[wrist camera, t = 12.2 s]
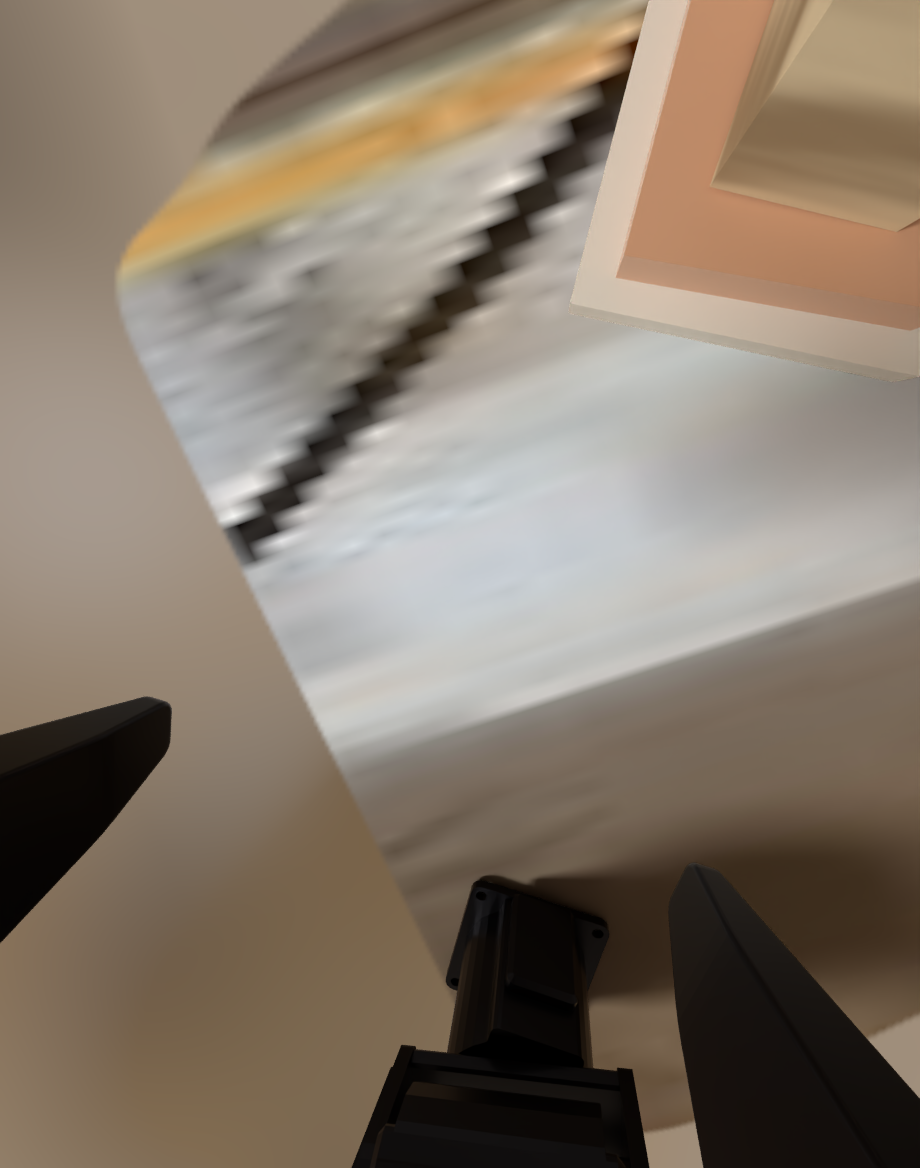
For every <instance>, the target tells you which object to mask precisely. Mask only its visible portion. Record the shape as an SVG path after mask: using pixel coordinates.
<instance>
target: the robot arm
mask: <svg viewBox="0 0 920 1168" xmlns="http://www.w3.org/2000/svg"><path fill="white" fill-rule="evenodd" d="M171 716H172V708H171V706H170V704H169V703H168V702H166V701H163V700H159V699H156V698H153V697H141V698H138V699H134V700H130V701H127V702H123V703H119V704H115V705H111V706H107V707H104V708H100V709H96V710H93V711H89V712H85V713H81V714H77V715H74V716H70V717H66V718H63V719H59V720H55V721H51V722H47V723H43V724H40V725H36V726H32V727H29V728H25V729H21V730H17V731H14V732H10V733H6V734H3V735H0V942H2V941H3V940H4V939H5V938H6V936H7V935H8V934H9V933H10V932H11V931H12V930H13V929H14V928H15V927H16V926H17V925H18V924H19V923H20V922H21V920H22V919H23V918H24V917H25V916H26V915H27V914H28V913H29V912H30V911H31V910H32V909H33V908H34V907H35V906H36V905H37V904H38V902H39V901H40V900H41V899H42V898H43V897H44V896H45V895H46V894H47V893H48V892H49V891H50V890H51V889H52V888H53V886H54V885H55V884H56V883H57V882H58V881H59V880H60V879H61V878H62V877H63V876H64V875H65V874H66V873H67V872H68V870H69V869H70V868H71V867H72V866H73V865H74V864H75V863H76V862H77V861H78V860H79V859H80V858H81V857H82V856H83V855H84V854H85V852H86V851H87V850H88V849H89V848H90V847H91V846H92V845H93V844H94V843H95V842H96V841H97V839H98V838H99V837H100V836H101V835H102V834H103V833H104V832H105V830H106V829H107V828H108V827H109V825H110V824H111V823H112V822H113V821H114V819H115V818H116V817H117V815H118V814H119V813H120V812H121V810H122V809H123V808H124V807H125V805H126V804H127V803H128V801H129V800H130V799H131V798H132V796H133V795H134V794H135V792H136V791H137V790H138V789H139V787H140V786H141V785H142V784H143V782H144V781H145V780H146V779H147V777H148V776H149V775H150V773H151V772H152V771H153V770H154V768H155V767H156V766H157V764H158V763H159V762H160V761H161V759H162V758H163V757H164V755H165V754H166V752H167V750H168V747H169V744H170V736H171ZM479 891H480V892H484V894H482V893H479ZM668 914H669V927H670V939H671V951H672V963H673V975H674V987H675V999H676V1010H677V1019H678V1026H679V1032H680V1039H681V1045H682V1050H683V1056H684V1062H685V1067H686V1073H687V1078H688V1084H689V1090H690V1095H691V1101H692V1106H693V1112H694V1118H695V1123H696V1129H697V1134H698V1140H699V1145H700V1151H701V1157H702V1162H703V1168H920V1098H919V1097H918V1096H917V1095H916V1094H915V1093H914V1092H913V1091H912V1089H911V1088H910V1087H909V1086H908V1085H907V1084H906V1083H905V1082H904V1080H903V1079H902V1078H901V1077H900V1076H899V1075H898V1074H897V1072H896V1071H895V1070H894V1069H893V1068H892V1067H891V1066H890V1064H889V1063H888V1062H887V1061H886V1060H885V1059H884V1058H883V1056H882V1055H881V1054H880V1053H879V1052H878V1051H877V1050H876V1049H875V1047H874V1046H873V1045H872V1044H871V1043H870V1042H869V1041H868V1039H867V1038H866V1037H865V1036H864V1035H863V1034H862V1033H861V1031H860V1030H859V1029H858V1028H857V1027H856V1026H855V1025H854V1024H853V1022H852V1021H851V1020H850V1019H849V1018H848V1017H847V1016H846V1014H845V1013H844V1012H843V1011H842V1010H841V1009H840V1008H839V1007H838V1005H837V1004H836V1003H835V1002H834V1001H833V1000H832V999H831V997H830V996H829V995H828V994H827V993H826V992H825V991H824V990H823V988H822V987H821V986H820V985H819V984H818V983H817V982H816V980H815V979H814V978H813V977H812V976H811V975H810V974H809V973H808V971H807V970H806V969H805V968H804V967H803V966H802V965H801V963H800V962H799V961H798V960H797V959H796V958H795V957H794V956H793V954H792V953H791V952H790V951H789V950H788V949H787V948H786V946H785V945H784V944H783V943H782V942H781V941H780V940H779V939H778V937H777V936H776V935H775V934H774V933H773V932H772V931H771V929H770V928H769V927H768V926H767V925H766V924H765V923H764V922H763V920H762V919H761V918H760V917H759V916H758V915H757V914H756V912H755V911H754V910H753V909H752V908H751V907H750V906H749V905H748V903H747V902H746V901H745V900H744V899H743V898H742V897H741V895H740V894H739V893H738V892H737V891H736V890H735V889H734V888H733V886H732V885H731V884H730V883H729V882H728V881H727V880H726V878H725V877H724V876H723V875H722V874H721V873H720V872H719V871H718V870H716V869H714V868H711V867H708V866H705V865H701V864H698V863H690V864H688V865H687V867H686V868H685V870H684V872H683V874H682V876H681V878H680V880H679V882H678V884H677V886H676V888H675V890H674V892H673V894H672V896H671V898H670V902H669V910H668ZM596 929H599V931H596ZM608 938H609V929H608V925H607V922H606V921H605V920H603V919H601V918H599V917H596V916H592V915H589V914H586V913H583V912H580V911H577V910H574V909H571V908H568V907H564V906H561V905H558V904H555V903H552V902H549V901H546V900H543V899H539V898H536V897H533V896H530V895H527V894H524V893H521V892H518V891H515V890H511V889H508V888H505V887H502V886H499V885H496V884H493V883H490V882H487V881H482V880H479V881H476V882H474V883H473V885H472V887H471V891H470V894H469V898H468V901H467V905H466V908H465V912H464V915H463V919H462V922H461V926H460V929H459V933H458V936H457V939H456V943H455V946H454V950H453V953H452V957H451V960H450V964H449V967H448V971H447V976H446V983H447V985H448V986H449V987H450V988H452V989H454V990H457V996H456V1002H455V1008H454V1014H453V1020H452V1026H451V1032H450V1038H449V1044H448V1050H447V1053H446V1052H436V1051H426V1050H418V1049H416V1047H415V1046H408V1045H401V1048H400V1050H399V1052H398V1055H397V1058H396V1060H395V1063H394V1065H393V1067H391V1069H390V1071H389V1074H388V1076H387V1078H386V1081H385V1084H384V1086H383V1089H382V1091H381V1094H380V1096H379V1099H378V1101H377V1104H376V1107H375V1109H374V1112H373V1114H372V1117H371V1120H370V1122H369V1125H368V1127H367V1130H366V1132H365V1135H364V1137H363V1140H362V1142H361V1145H360V1148H359V1150H358V1153H357V1155H356V1158H355V1160H354V1163H353V1166H352V1168H649V1163H648V1157H647V1151H646V1145H645V1140H644V1134H643V1128H642V1122H641V1117H640V1111H639V1105H638V1099H637V1094H636V1088H635V1082H634V1076H633V1071H632V1069H625V1068H617V1071H613V1070H604V1069H595V1068H593V1059H592V1046H591V1033H590V1020H589V1006H588V993H587V991H588V989H589V986H590V984H591V981H592V979H593V976H594V973H595V971H596V968H597V966H598V963H599V961H600V958H601V956H602V953H603V951H604V948H605V946H606V943H607V940H608Z"/></svg>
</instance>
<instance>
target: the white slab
mask: <svg viewBox="0 0 920 1168" xmlns="http://www.w3.org/2000/svg"><path fill="white" fill-rule="evenodd" d="M687 2H688V0H649V3H648V6H647V10H646V14H645V18H644V22H643V26H642V29H641V33H640V37H639V41H638V45H637V48H636V52H635V56H634V60H633V64H632V68H631V71H630V75H629V79H628V83H627V87H626V91H625V94H624V98H623V102H622V106H621V110H620V114H619V117H618V121H617V125H616V129H615V133H614V136H613V140H612V144H611V148H610V152H609V156H608V159H607V163H606V167H605V171H604V175H603V179H602V182H601V186H600V190H599V194H598V198H597V202H596V205H595V209H594V213H593V217H592V221H591V224H590V228H589V232H588V236H587V240H586V244H585V247H584V251H583V255H582V259H581V263H580V267H579V270H578V274H577V278H576V282H575V286H574V290H573V293H572V297H571V301H570V306H569V314H574V315H578V316H583V317H588V318H592V319H597V320H602V321H607V322H611V323H616V324H621V325H625V326H630V327H635V328H640V329H644V330H649V331H654V332H658V333H663V334H668V335H673V336H677V337H682V338H687V339H691V340H696V341H701V342H705V343H710V344H715V345H720V346H724V347H729V348H734V349H738V350H743V351H748V352H753V353H757V354H762V355H767V356H771V357H776V358H781V359H786V360H790V361H795V362H800V363H804V364H809V365H814V366H819V367H823V368H828V369H833V370H837V371H842V372H847V373H851V374H856V375H861V376H866V377H870V378H875V379H880V380H884V381H889V382H897V381H901V380H906V379H911V378H915V377H919V376H920V327H919V328H916V329H914V330H911V331H909V330H903V329H898V328H892V327H887V326H881V325H876V324H870V323H864V322H859V321H853V320H848V319H842V318H837V317H831V316H825V315H820V314H814V313H809V312H803V311H798V310H792V309H787V308H781V307H775V306H770V305H764V304H759V303H753V302H748V301H742V300H736V299H731V298H725V297H720V296H714V295H709V294H703V293H697V292H692V291H686V290H681V289H675V288H670V287H664V286H658V285H653V284H647V283H642V282H636V281H631V280H625V279H619V278H615V277H616V274H617V270H618V266H619V262H620V258H621V254H622V251H623V247H624V243H625V239H626V235H627V231H628V228H629V224H630V220H631V216H632V212H633V209H634V205H635V201H636V197H637V193H638V189H639V186H640V182H641V178H642V174H643V170H644V166H645V163H646V159H647V155H648V151H649V147H650V143H651V140H652V136H653V132H654V128H655V124H656V120H657V117H658V113H659V109H660V105H661V101H662V97H663V94H664V90H665V86H666V82H667V78H668V74H669V71H670V67H671V63H672V59H673V55H674V52H675V48H676V44H677V40H678V36H679V32H680V29H681V25H682V21H683V17H684V13H685V9H686V6H687Z"/></svg>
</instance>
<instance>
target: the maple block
mask: <svg viewBox="0 0 920 1168" xmlns="http://www.w3.org/2000/svg"><path fill="white" fill-rule="evenodd" d="M710 187H712V188H716V189H720V190H725V191H729V192H733V193H737V194H741V195H745V196H749V197H753V198H758V199H762V200H766V201H770V202H774V203H778V204H782V205H787V206H791V207H795V208H799V209H803V210H807V211H811V212H815V213H820V214H824V215H828V216H832V217H836V218H840V219H844V220H849V221H853V222H857V223H861V224H865V225H869V226H873V227H877V228H882V229H886V230H890V231H894V232H898V231H899V230H901V229H903V228H904V227H906V226H908V225H909V224H911V223H913V222H914V221H916V220H918V219H919V218H920V0H774V3H773V6H772V9H771V12H770V14H769V17H768V20H767V23H766V26H765V29H764V32H763V34H762V37H761V40H760V43H759V46H758V49H757V52H756V55H755V57H754V60H753V63H752V66H751V69H750V72H749V75H748V78H747V80H746V83H745V86H744V89H743V92H742V95H741V98H740V101H739V103H738V106H737V109H736V112H735V115H734V118H733V121H732V123H731V126H730V129H729V132H728V135H727V138H726V141H725V144H724V146H723V149H722V152H721V155H720V158H719V161H718V164H717V167H716V169H715V172H714V175H713V178H712V181H711V184H710Z"/></svg>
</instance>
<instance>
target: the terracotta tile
mask: <svg viewBox="0 0 920 1168" xmlns="http://www.w3.org/2000/svg"><path fill="white" fill-rule="evenodd" d="M773 3H774V0H688V2H687V6H686V9H685V13H684V17H683V21H682V25H681V29H680V32H679V36H678V40H677V44H676V48H675V52H674V55H673V59H672V63H671V67H670V71H669V74H668V78H667V82H666V86H665V90H664V94H663V97H662V101H661V105H660V109H659V113H658V117H657V120H656V124H655V128H654V132H653V136H652V140H651V143H650V147H649V151H648V155H647V159H646V163H645V166H644V170H643V174H642V178H641V182H640V186H639V189H638V193H637V197H636V201H635V205H634V209H633V212H632V216H631V220H630V224H629V228H628V231H627V235H626V239H625V243H624V247H623V251H622V254H621V258H620V262H619V266H618V270H617V274H616V277H615V278H619V279H625V280H631V281H636V282H642V283H647V284H653V285H658V286H664V287H670V288H675V289H681V290H686V291H692V292H697V293H703V294H709V295H714V296H720V297H725V298H731V299H736V300H742V301H748V302H753V303H759V304H764V305H770V306H775V307H781V308H787V309H792V310H798V311H803V312H809V313H814V314H820V315H825V316H831V317H837V318H842V319H848V320H853V321H859V322H864V323H870V324H876V325H881V326H887V327H892V328H898V329H903V330H909V331H911V330H914V329H916V328H919V327H920V218H919V219H918V220H916V221H914V222H913V223H911V224H909V225H908V226H906V227H904V228H903V229H901V230H899V231H898V232H894V231H890V230H886V229H882V228H877V227H873V226H869V225H865V224H861V223H857V222H853V221H849V220H844V219H840V218H836V217H832V216H828V215H824V214H820V213H815V212H811V211H807V210H803V209H799V208H795V207H791V206H787V205H782V204H778V203H774V202H770V201H766V200H762V199H758V198H753V197H749V196H745V195H741V194H737V193H733V192H729V191H725V190H720V189H716V188H712V187H710V184H711V181H712V178H713V175H714V172H715V169H716V167H717V164H718V161H719V158H720V155H721V152H722V149H723V146H724V144H725V141H726V138H727V135H728V132H729V129H730V126H731V123H732V121H733V118H734V115H735V112H736V109H737V106H738V103H739V101H740V98H741V95H742V92H743V89H744V86H745V83H746V80H747V78H748V75H749V72H750V69H751V66H752V63H753V60H754V57H755V55H756V52H757V49H758V46H759V43H760V40H761V37H762V34H763V32H764V29H765V26H766V23H767V20H768V17H769V14H770V12H771V9H772V6H773Z"/></svg>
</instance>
